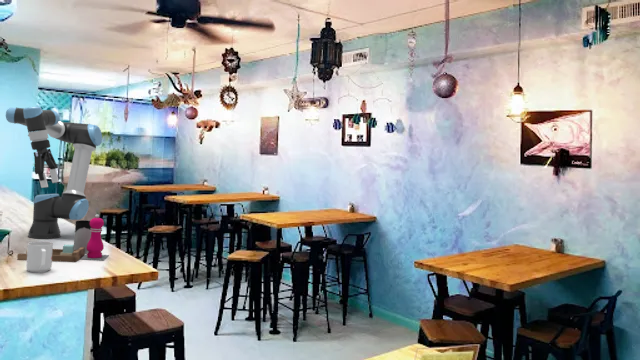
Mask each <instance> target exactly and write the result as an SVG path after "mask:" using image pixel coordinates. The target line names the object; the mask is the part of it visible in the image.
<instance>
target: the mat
mask: <svg viewBox="0 0 640 360" xmlns="http://www.w3.org/2000/svg"><path fill="white" fill-rule="evenodd" d="M109 256H110V255H109V254H102V257H101V258H88V257H87V254H85V255H84V256H83V257H82V258H80V259H79V260H81V261H105V260H106V259H107V258H108V257H109Z"/></svg>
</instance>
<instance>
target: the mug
mask: <svg viewBox="0 0 640 360" xmlns="http://www.w3.org/2000/svg"><path fill="white" fill-rule="evenodd" d="M53 245H54V242H51V241H46V240H44V241H43V240H40V241H39V240H38V241H35V240H34V241H30V242H27V248H26V250H27V260H26V266H25V267H26V270H27V271H28V272H30V273H44V272H48V271H49V270H51V269H52V266H53V265H52V264H53V261H52V251H53V249H54V246H53Z"/></svg>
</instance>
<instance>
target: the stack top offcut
mask: <svg viewBox="0 0 640 360" xmlns="http://www.w3.org/2000/svg"><path fill="white" fill-rule="evenodd" d="M62 249H63V253H73V251H74V244H63V246H62Z"/></svg>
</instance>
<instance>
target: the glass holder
mask: <svg viewBox="0 0 640 360" xmlns="http://www.w3.org/2000/svg"><path fill="white" fill-rule="evenodd" d="M74 226H75V227H74V228H75V229H74V237H73V245H74V250H78V249H79V248H81V247H85V255H86V254H87V253H89V252H88V250H87V244H88V242H89V240H90V238H91V231H90V230H91V229H90V228H91V226H90V220H85V219H84V220H82V219H80V220H76V221H75V225H74Z"/></svg>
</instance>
